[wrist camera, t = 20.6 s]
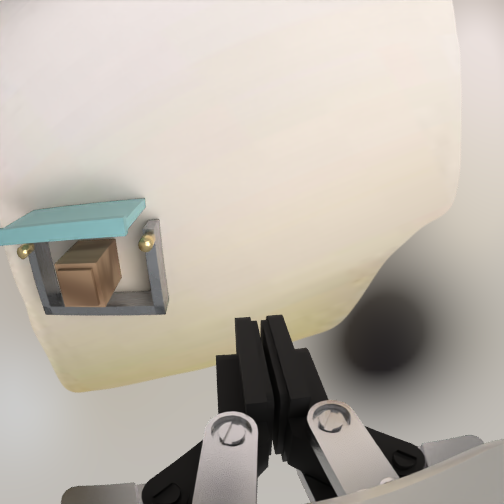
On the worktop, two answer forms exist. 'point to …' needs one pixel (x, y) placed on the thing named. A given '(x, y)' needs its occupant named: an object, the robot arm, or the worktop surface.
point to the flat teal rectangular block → (73, 222)
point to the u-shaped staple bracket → (119, 301)
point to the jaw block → (89, 273)
